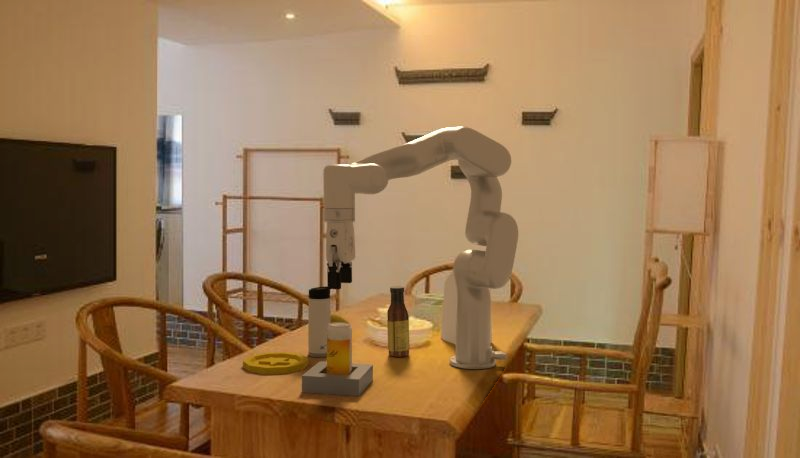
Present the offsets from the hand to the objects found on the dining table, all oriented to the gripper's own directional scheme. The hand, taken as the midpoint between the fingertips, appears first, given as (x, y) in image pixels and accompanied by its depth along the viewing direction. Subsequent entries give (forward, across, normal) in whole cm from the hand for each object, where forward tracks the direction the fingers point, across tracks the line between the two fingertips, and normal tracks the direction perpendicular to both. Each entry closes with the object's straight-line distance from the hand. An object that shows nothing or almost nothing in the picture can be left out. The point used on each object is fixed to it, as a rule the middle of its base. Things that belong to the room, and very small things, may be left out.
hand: (340, 285), depth 178 cm
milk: (+26, +58, -24) cm, 68 cm away
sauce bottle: (+25, +34, -8) cm, 43 cm away
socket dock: (+25, 0, 0) cm, 25 cm away
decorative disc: (+25, +14, +22) cm, 37 cm away
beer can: (+25, 0, 0) cm, 25 cm away
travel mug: (+25, +28, +14) cm, 41 cm away
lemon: (+25, +48, +16) cm, 57 cm away
